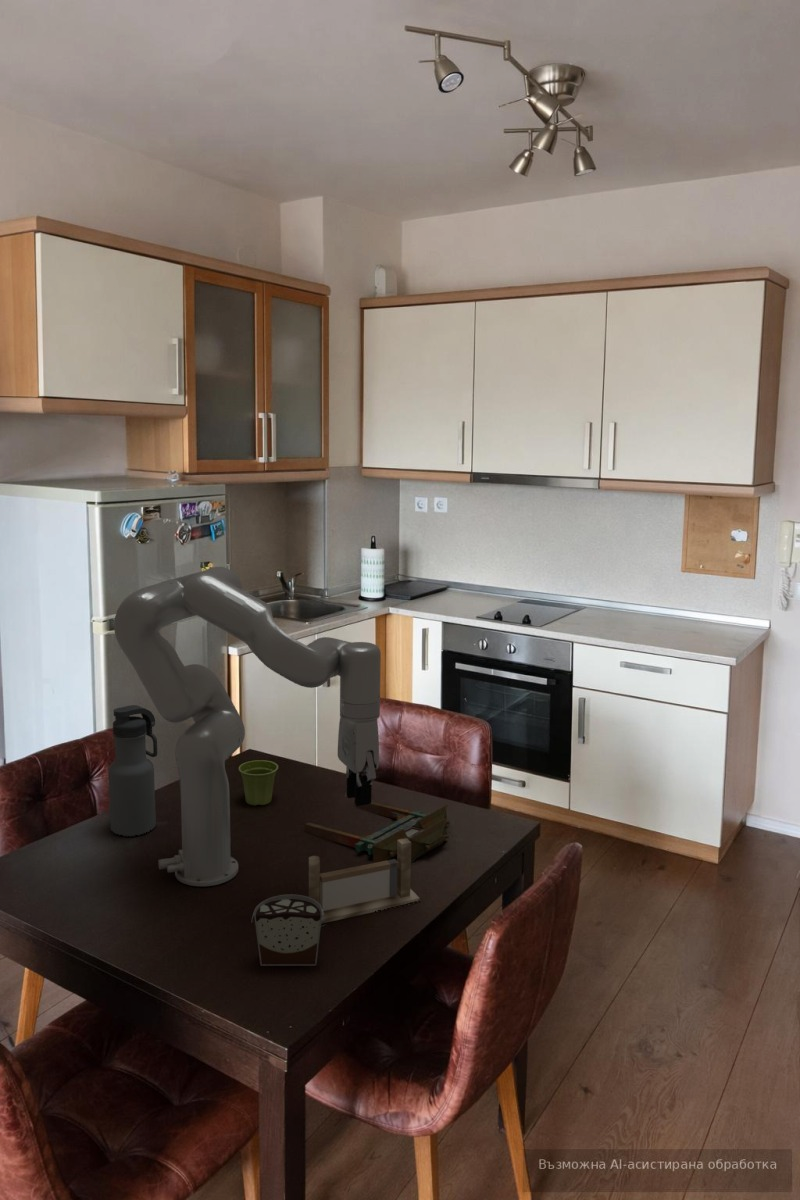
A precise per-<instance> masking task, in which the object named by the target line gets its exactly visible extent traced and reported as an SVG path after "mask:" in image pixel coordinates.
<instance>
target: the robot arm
mask: <svg viewBox="0 0 800 1200" xmlns="http://www.w3.org/2000/svg"><path fill="white" fill-rule="evenodd" d="M195 616H198V617H200V618H202V619H203V620H204V621H207V622H208V623H211V624H212V625H214V626H215V627H217V628H219V629H221V630H222V631H224V632H225V633H228V634H230V635H231V636H233V637H234V638H237V639H238V640H240V641H241V642H242V643H244V644H246V645H247V647H248V648H249V649H250V651H251V653H253V654H254V655H255V656H256V658H257V659H258V660H259V661H260V662H262V664H263V665H264V666H266V667H267V668H268V669H270V670H271V671H272V672H274V673H276V674H278V675H279V676H280V677H282V678H285V679H286V680H288V681H290V682H292V683H294V684H296V685H297V686H301V687H304V688H311V689H313V688H318V687H322V686H323V685H324V684H326V683H327V682H328V681H329V680H330V679H332V678H334V677H337V676H339V723H338V733H337V734H338V735H337V736H338V737H337V757H338V760H339V761H340V762H341V763H342V764H343V765H344V766H346V769H345V770H346V771H345V775H346V797H347V798H348V799H352V798H354V805H355V807H356V806H361V805H367V804H371V801H372V786H373V781H374V780H376V779H377V774H376V770H378V768H379V765H380V764H379V763H380V738H379V736H380V735H379V725H378V719H379V718H380V717H381V662H382V659H381V656H382V655H381V649H380V647H379V646H378V645H376V644H375V643H372V642H366V641H354V642H353V641H347V640H342V639H338V638H334V637H329V636H327V637H325V636H323V637H319V638H316V639H315V640H313V641H312V642H309V643H308V644H304V643H303V642H301V641H299V640H297V639H295V638H294V637H292V636H290V635H289V634H287V633H286V632H285V631H284V630H282V629H281V628H280V627H279V626H278V624H277V623H276V621H275V620H274V616H273V612H272V607H271V605H269V604H268V602H265V601H263V600H262V599H260V598H258V597H256V596H254V595H253V594H250V593H248V592H247V591H245V590H243V584H242V580H241V578H240V577H239V576H238V574H237V573H235V572H234V570H231V569H230V568H227V567H224V566H215V567H211V568H208V569H205V570H201V571H198V572H195V573H190V574H187V575H184V576H179V577H175V578H171V579H167V580H164V581H161V582H159V583H154V584H151V585H148V586H145V587H142V588H140V589H137V590H135V591H134V592H132V593H131V594H129V595H128V596H127V597H126V598H124V600H123V601H122V602H121V603H120V605H119V606H118V608H117V610H116V614H115V617H114V621H113V623H114V624H113V630H114V633H115V634H114V635H115V638H116V641H117V643H118V645H119V647H120V649H121V650H122V652H123V653H124V655H125V657H126V658H127V659H128V661H129V662H130V663H131V665H132V667H133V668H134V670H135V672H136V674H137V677H138V678H139V680H140V681H141V684H142V685H143V686H144V689H145V690H146V692H147V694H148V695H149V697H150V699H151V701H152V703H153V704H154V706H155V708H156V709H157V711H158V713H159V714H160V715H161V717H162V718H163V719H164V720H165V721H167V722H170V723H173V724H177V723H182V722H185V721H187V720H189V719H191V718H192V720H193V721H194V723H193V724H192V725H190V726H188V727H187V728H186V729H184V731H183V732H182V733H181V735H179V738H178V739H177V742H176V744H175V745H176V746H175V750H174V756H175V761H176V765H177V771H178V776H179V787H180V809H181V810H180V812H181V814H180V816H181V818H180V820H181V847H182V849H178V854H177V855H176V854H175V855H174V856H173V857H171V858H167V857H166V858H161V859H158V862H157V863H158V869H159V870H165V869H166V871H167V873H174V875H175V879H177V880H178V882H180V883H182V884H185V885H187V886H192V887H211V886H212V887H214V886H218V885H221V884H223V883H227V882H228V881H231V880H232V879H233V878H235V877H236V876H237V875H238V873H239V862H238V861H237V859H235V858H234V857H233V856H231V855H232V854H231V805H230V804H231V801H230V799H231V798H230V784H229V778H228V775H227V771H226V766H225V763H226V760H227V759H229V757H230V756H232V755H233V754H234V753H235V752H236V751H237V750H238V749H239V748H240V747H241V746H242V744H243V743H244V740H245V736H246V730H245V725H244V722H243V720H242V717H241V715H240V713H239V712H238V710H237V708H236V707H235V705H234V703H233V701H232V699H231V697H230V696H229V694H228V692H227V690H226V688H225V687H224V686H223V684H222V681H221V680H220V679H219V677H218V676H217V675H216V674H215V673H214V671H213V670H211V669H210V668H209V667H207V666H205V665H202V664H199V663H198V664H195V663H194V664H187V665H184V663H183V661H182V660H181V658H180V657H179V655H178V653H177V651H176V650H175V647H174V646H172V644H171V643H170V642H169V641H168V640H167V639H165V637H164V636H163V635H161V633H160V631H161V629H162V628H164V627H167V626H169V625H172V624H173V623H176V622H179V621H181V620H184V619H188V618H192V617H195ZM364 767H365V768H364ZM362 774H364V775H362Z"/></svg>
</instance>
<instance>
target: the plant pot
mask: <svg viewBox="0 0 800 1200" xmlns="http://www.w3.org/2000/svg"><path fill="white" fill-rule="evenodd" d="M278 770H279V765H278V764H277V763H276V762H274V761H270V760H264V759H263V760H262V759H260V760H259V759H258V760H251V761H245V762H243V763H241V764H240V765H239V766H238V771H239V772H240V776H241V778H242V785H243V791H244V796H245V797H244V799H245V802H246V803H247V804H248V805H250V806H258V805H260V806H266V805H268V804H269V803H271V802H272V799H273V798H272V797H273V790H274V784H275V776H276V774H277V771H278Z"/></svg>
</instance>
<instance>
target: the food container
mask: <svg viewBox="0 0 800 1200" xmlns="http://www.w3.org/2000/svg"><path fill="white" fill-rule="evenodd" d="M322 916H323V919H324V923H323V924H326V923H325V917H324V912H323V909H322V908H321V905H320V904H319V903H318V902H317V901H316V900H314V899H312V898H310V897H309V896H306V895H302V894H281V895H280V894H279V895H275V896H272V897H269V898H267V899H264V900H263V901H261V902H260V903H259V904H258V905H256V906H255V908H254V911H253V914H252V917H251V922H250V923H253V921H254V924H255V925H254V926H255V934H256V939H257V948H258V956H259V964H260V966H261V967H277V966H279V967H283V966H284V967H286V966H287V967H289V966H290V967H292V966H293V967H297V966H298V967H299V966H300V967H301V966H302V967H305V966H306V967H307V966H308V967H309V966H310V967H313V966H315V967H316V966H317V962H318V954H319V944H320V936H321V927H322V924H321V920H322Z"/></svg>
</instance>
